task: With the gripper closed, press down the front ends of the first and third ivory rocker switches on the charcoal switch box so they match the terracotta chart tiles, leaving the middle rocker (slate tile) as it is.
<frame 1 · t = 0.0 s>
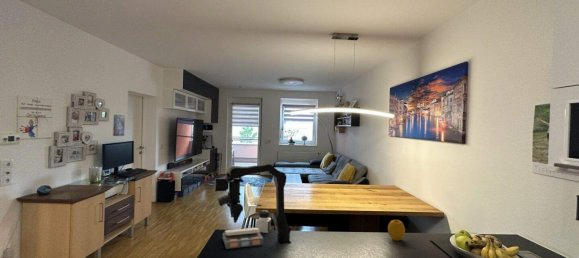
hand: (233, 219, 162), 15 cm above the kitchen counter, fingers open, 9 cm apart
yellow oval fruit: (396, 239, 180), on the kitchen counter
rocker 3: (231, 233, 169), point 5 cm above the kitchen counter, hinge at 12.0°
switch box: (242, 241, 170), on the kitchen counter
rocker 1: (252, 231, 173), point 5 cm above the kitchen counter, hinge at 12.0°
rocker 2: (242, 232, 171), point 5 cm above the kitchen counter, hinge at 12.0°
medicine bottle: (263, 230, 188), on the kitchen counter
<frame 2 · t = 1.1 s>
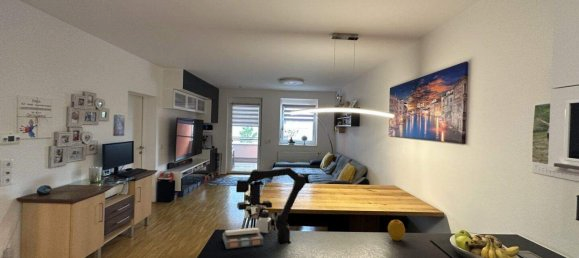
hand: (254, 220, 170), 12 cm above the kitchen counter, fingers open, 4 cm apart
nothing on the kitchen counter moved.
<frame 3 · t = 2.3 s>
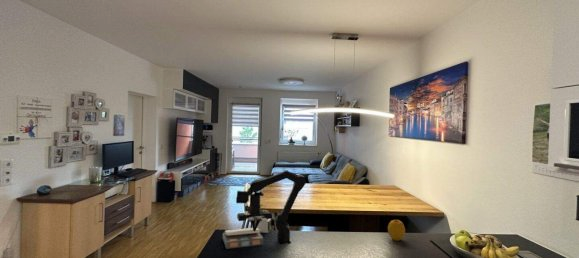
hand: (254, 231, 170), 6 cm above the kitchen counter, fingers closed, pressing on rocker 1
rocker 1: (252, 231, 173), point 5 cm above the kitchen counter, hinge at 11.1°, touching gripper
everything else where it was.
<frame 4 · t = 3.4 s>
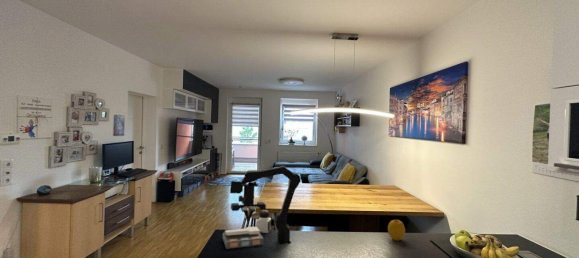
hand: (247, 221, 169), 12 cm above the kitchen counter, fingers closed
rocker 1: (252, 231, 173), point 5 cm above the kitchen counter, hinge at 2.1°
everything else where it was.
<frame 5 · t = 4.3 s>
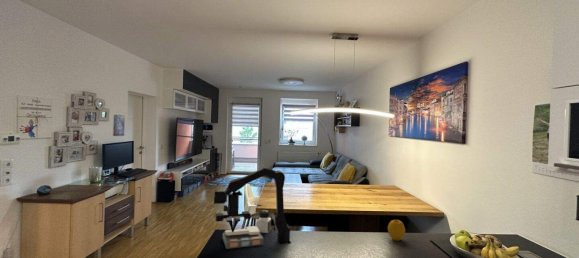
hand: (232, 231, 166), 7 cm above the kitchen counter, fingers closed, pressing on rocker 3
rocker 3: (231, 233, 169), point 5 cm above the kitchen counter, hinge at 12.0°, touching gripper
rocker 1: (252, 231, 173), point 5 cm above the kitchen counter, hinge at -2.4°
everything else where it was.
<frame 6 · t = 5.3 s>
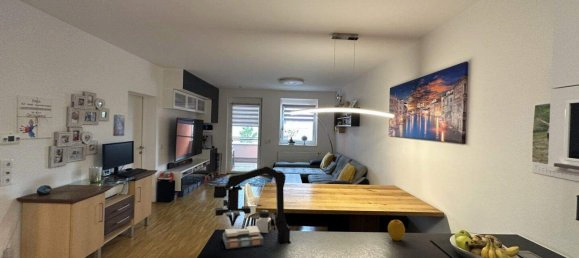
hand: (232, 226, 166), 10 cm above the kitchen counter, fingers closed
rocker 3: (231, 233, 169), point 5 cm above the kitchen counter, hinge at 3.4°
rocker 1: (252, 231, 173), point 5 cm above the kitchen counter, hinge at -5.0°
everything else where it was.
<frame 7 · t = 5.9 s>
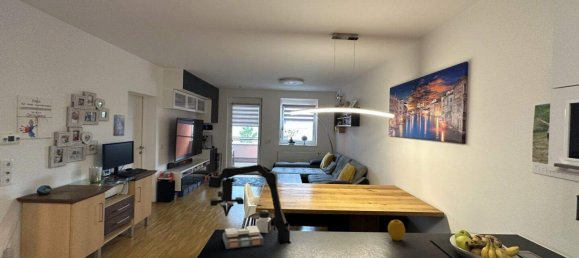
hand: (226, 216, 175), 12 cm above the kitchen counter, fingers closed
rocker 3: (231, 233, 169), point 5 cm above the kitchen counter, hinge at -1.9°
rocker 1: (252, 231, 173), point 5 cm above the kitchen counter, hinge at -5.9°
everything else where it was.
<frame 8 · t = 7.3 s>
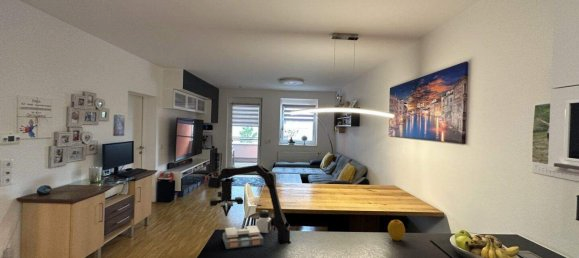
hand: (226, 216, 176), 12 cm above the kitchen counter, fingers closed
rocker 3: (231, 233, 169), point 5 cm above the kitchen counter, hinge at -8.2°
rocker 1: (252, 231, 173), point 5 cm above the kitchen counter, hinge at -6.9°
everything else where it was.
at the end: rocker 1 at -7° (first picture: +12°); rocker 3 at -8° (first picture: +12°); rocker 2 at +12° (first picture: +12°) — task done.
